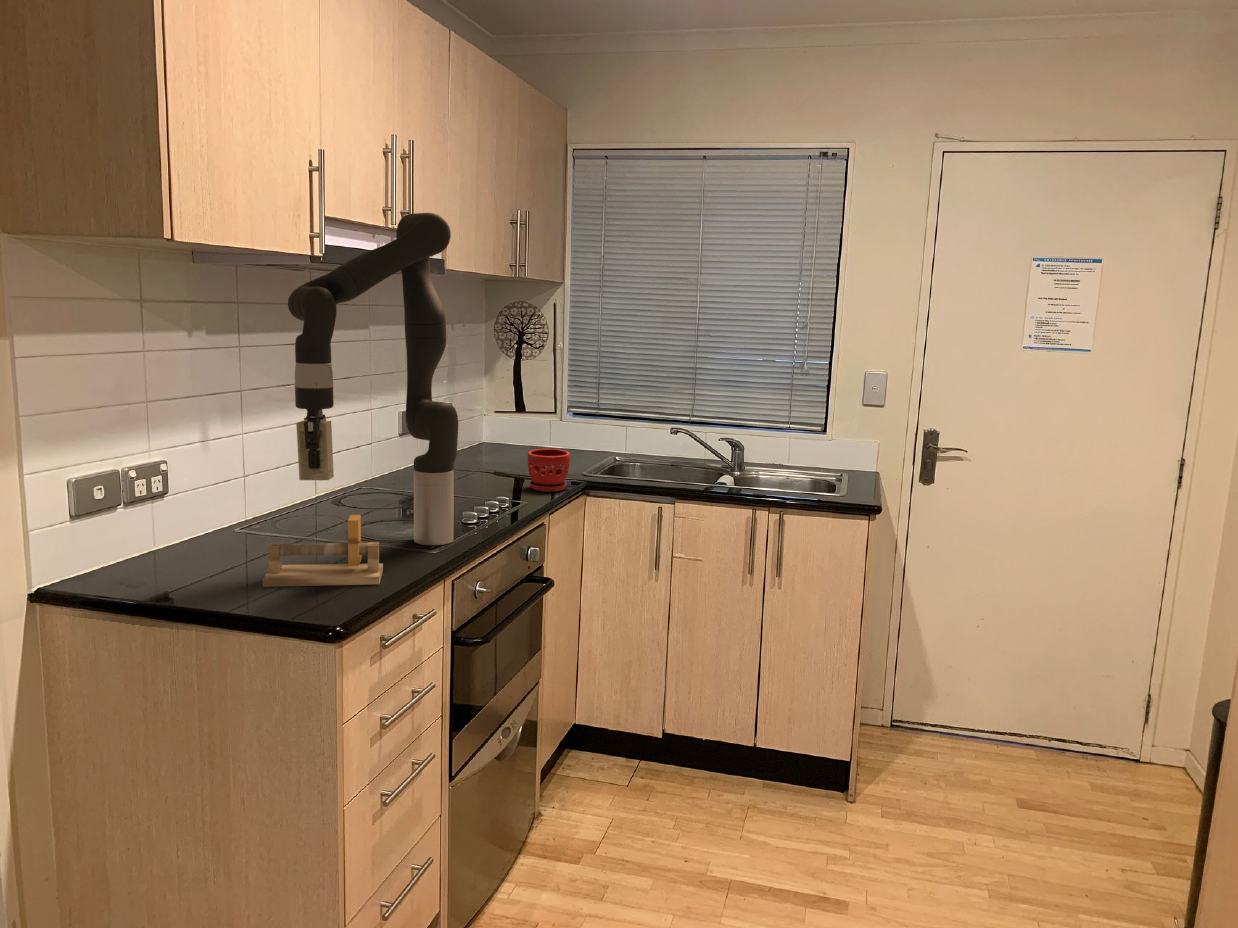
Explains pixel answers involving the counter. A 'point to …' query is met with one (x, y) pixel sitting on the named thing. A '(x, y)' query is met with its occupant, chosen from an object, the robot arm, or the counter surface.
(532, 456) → the plant pot
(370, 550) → the pipe rig
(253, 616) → the counter surface
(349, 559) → the orange block
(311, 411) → the robot arm
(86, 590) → the counter surface
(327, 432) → the skincare box
